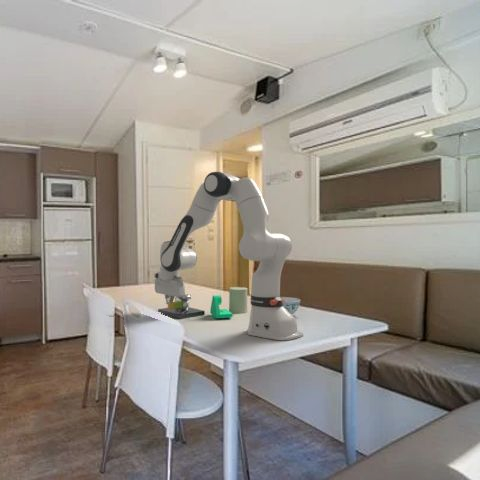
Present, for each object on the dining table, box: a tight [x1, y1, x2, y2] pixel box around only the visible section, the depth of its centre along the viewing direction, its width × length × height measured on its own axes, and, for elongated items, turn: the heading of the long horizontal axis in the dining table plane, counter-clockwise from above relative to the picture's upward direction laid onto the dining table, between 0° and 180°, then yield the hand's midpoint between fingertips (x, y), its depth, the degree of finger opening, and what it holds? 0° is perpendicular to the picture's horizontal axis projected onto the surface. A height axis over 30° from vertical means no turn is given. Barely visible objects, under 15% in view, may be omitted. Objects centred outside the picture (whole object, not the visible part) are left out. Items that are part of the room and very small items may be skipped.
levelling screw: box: [167, 293, 192, 311], centre depth 192 cm, size 12×6×7 cm, turn 134°
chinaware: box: [281, 296, 301, 315], centre depth 194 cm, size 15×15×8 cm
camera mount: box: [209, 294, 234, 320], centre depth 190 cm, size 12×8×10 cm, turn 18°
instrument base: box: [157, 297, 206, 320], centre depth 196 cm, size 18×14×8 cm
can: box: [228, 286, 248, 314], centre depth 204 cm, size 9×9×12 cm
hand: (169, 304), depth 194 cm, fingers closed
